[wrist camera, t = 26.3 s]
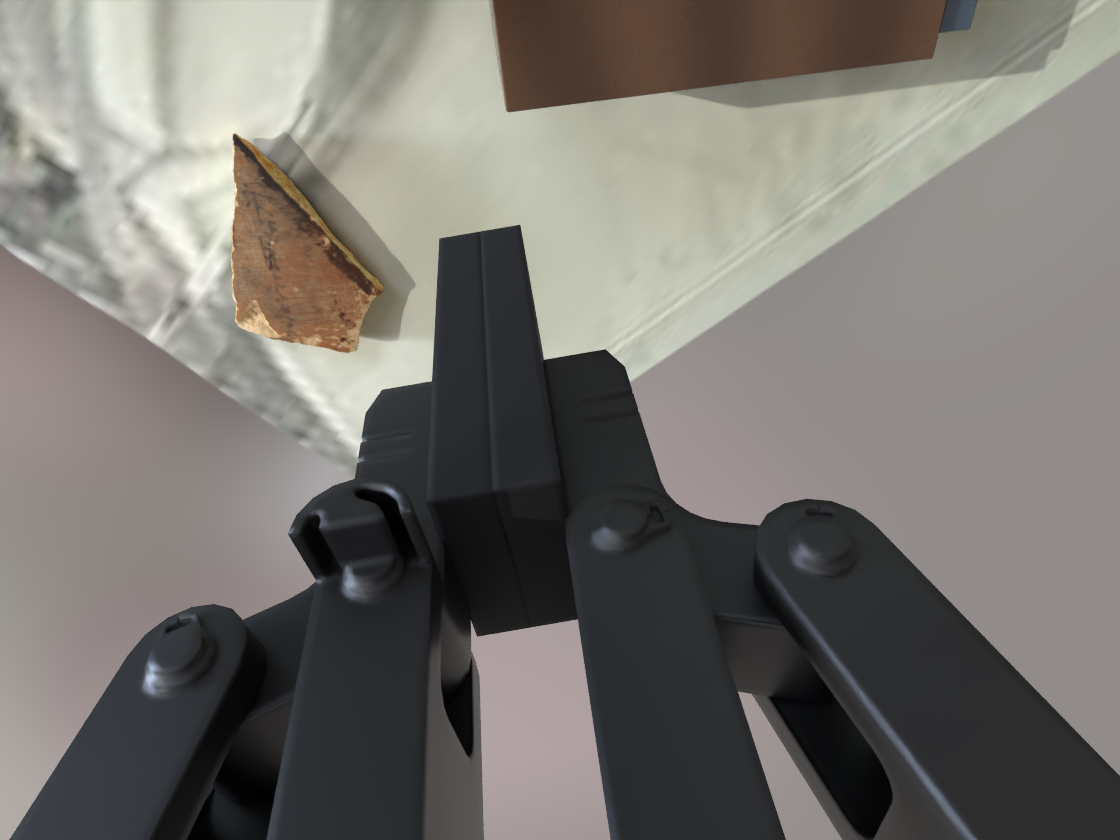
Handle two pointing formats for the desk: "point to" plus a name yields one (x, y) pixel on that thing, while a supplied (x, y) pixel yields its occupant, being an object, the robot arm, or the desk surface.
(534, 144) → the desk surface
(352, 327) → the shard
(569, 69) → the cabinet
